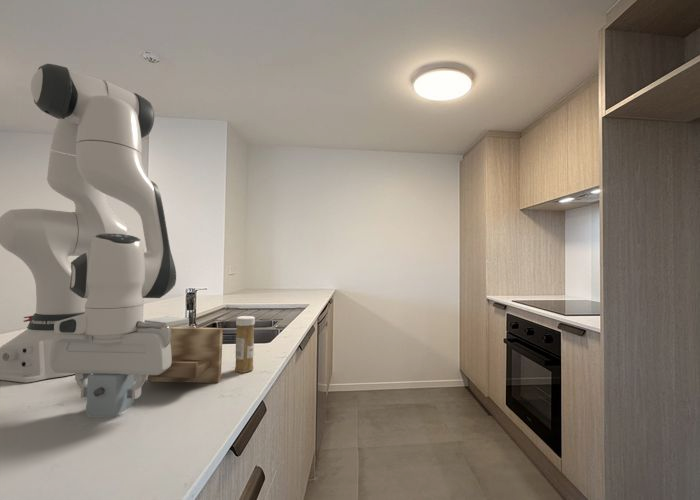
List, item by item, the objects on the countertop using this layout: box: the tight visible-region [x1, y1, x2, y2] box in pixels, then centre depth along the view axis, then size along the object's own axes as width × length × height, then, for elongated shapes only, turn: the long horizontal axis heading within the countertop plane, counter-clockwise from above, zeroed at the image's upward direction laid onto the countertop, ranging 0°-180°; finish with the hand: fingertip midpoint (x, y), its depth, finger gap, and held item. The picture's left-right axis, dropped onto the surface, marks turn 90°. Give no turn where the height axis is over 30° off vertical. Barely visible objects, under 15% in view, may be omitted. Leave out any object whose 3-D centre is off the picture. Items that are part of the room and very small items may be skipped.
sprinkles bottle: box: [234, 315, 256, 374], centre depth 83 cm, size 5×5×14 cm
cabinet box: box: [85, 374, 135, 418], centre depth 59 cm, size 5×6×7 cm
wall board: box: [147, 326, 224, 384], centre depth 71 cm, size 16×8×12 cm, turn 90°
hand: (111, 397), depth 60 cm, fingers open, 7 cm apart
